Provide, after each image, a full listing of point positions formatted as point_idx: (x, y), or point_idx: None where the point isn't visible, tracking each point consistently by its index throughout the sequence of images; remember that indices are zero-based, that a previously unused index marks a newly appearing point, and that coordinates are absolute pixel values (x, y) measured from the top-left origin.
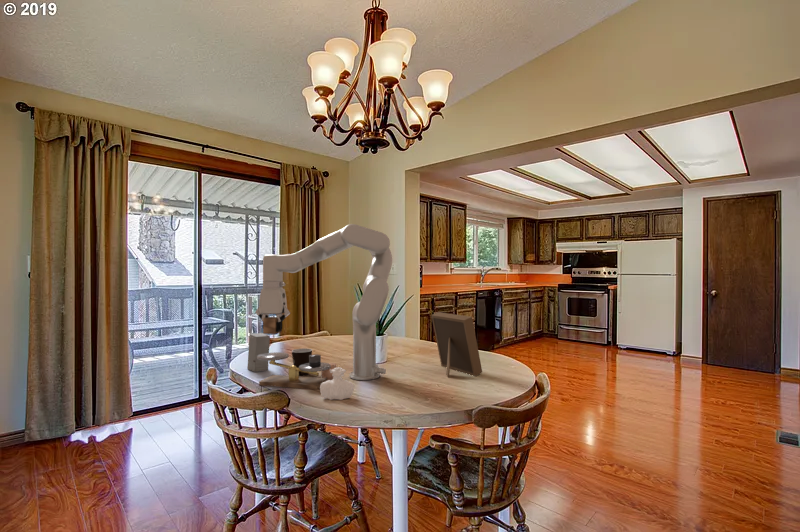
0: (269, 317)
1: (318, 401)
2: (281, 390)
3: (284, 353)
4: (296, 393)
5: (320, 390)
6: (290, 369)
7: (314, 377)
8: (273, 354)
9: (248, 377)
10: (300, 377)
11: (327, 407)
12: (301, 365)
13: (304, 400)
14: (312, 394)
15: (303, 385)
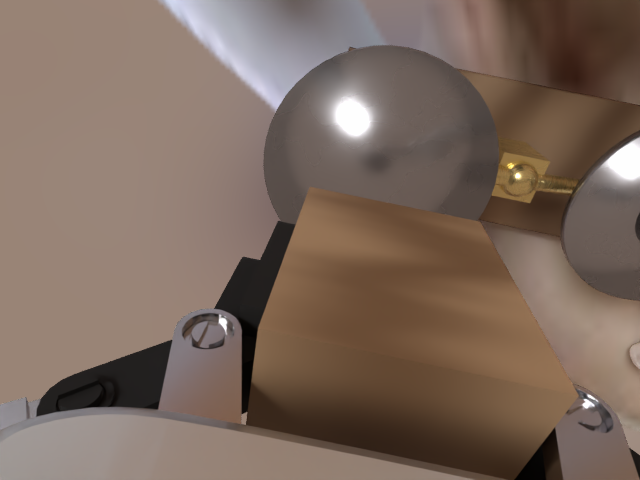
0: (299, 427)
1: (607, 363)
2: None
3: (454, 94)
4: (519, 286)
5: (636, 362)
6: (498, 196)
7: (625, 105)
8: (369, 137)
9: (199, 27)
10: (534, 108)
11: (633, 406)
12: (581, 206)
13: (555, 352)
14: (588, 299)
15: (554, 233)
